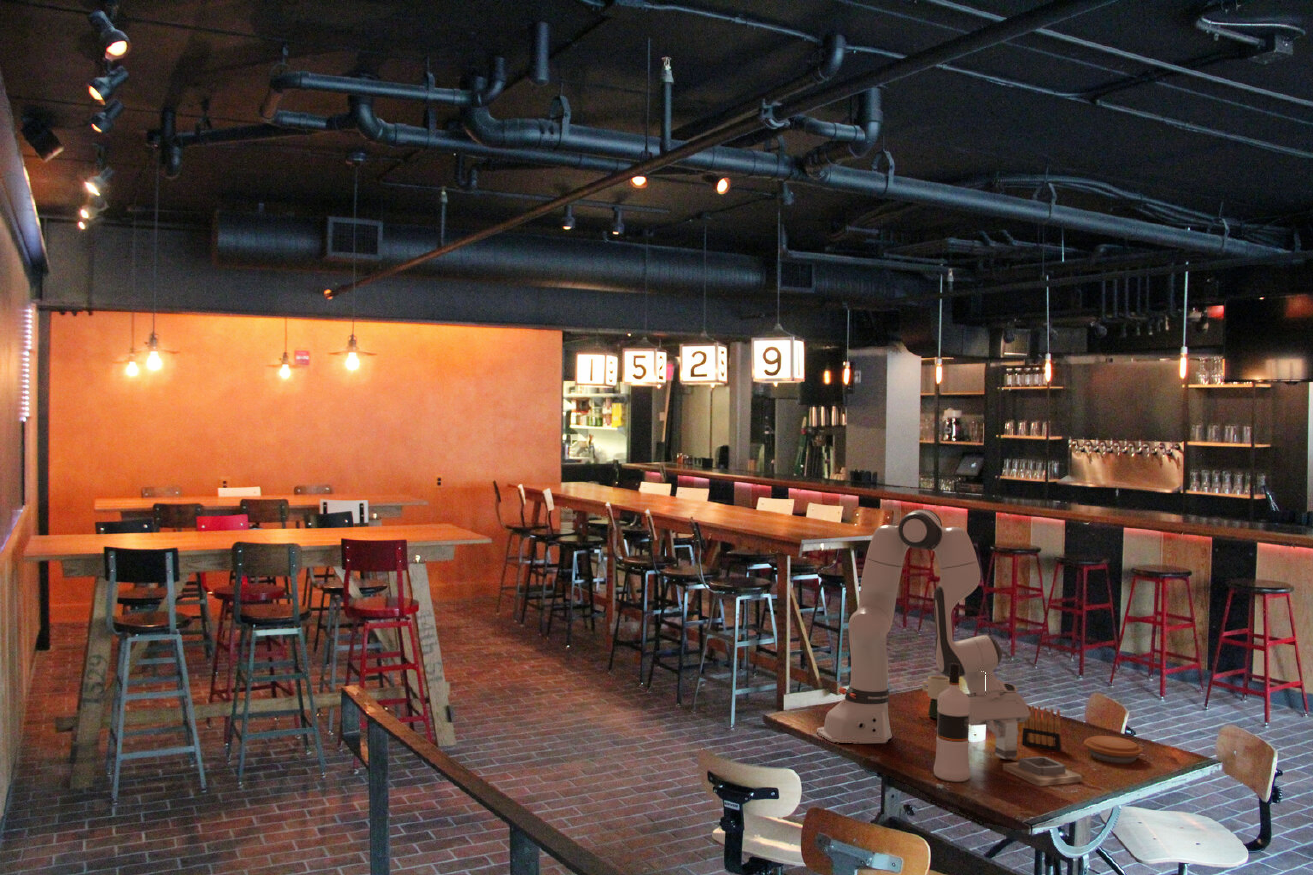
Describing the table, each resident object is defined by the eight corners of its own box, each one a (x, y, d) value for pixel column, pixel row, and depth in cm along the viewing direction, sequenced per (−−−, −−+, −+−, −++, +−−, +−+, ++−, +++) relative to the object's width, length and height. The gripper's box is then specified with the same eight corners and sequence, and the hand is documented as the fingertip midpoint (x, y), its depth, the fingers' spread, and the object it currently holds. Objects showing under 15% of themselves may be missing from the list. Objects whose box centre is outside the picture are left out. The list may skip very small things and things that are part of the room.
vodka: (929, 770, 268) (932, 659, 268) (964, 771, 268) (967, 660, 268) (938, 782, 259) (942, 666, 259) (974, 783, 259) (977, 667, 259)
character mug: (958, 718, 322) (959, 678, 322) (951, 723, 316) (952, 682, 316) (925, 712, 328) (926, 673, 328) (918, 717, 322) (919, 677, 322)
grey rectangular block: (1004, 759, 278) (1005, 723, 278) (994, 754, 282) (996, 719, 282) (1016, 758, 279) (1017, 722, 279) (1006, 753, 283) (1008, 718, 283)
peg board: (1038, 786, 258) (1038, 772, 258) (1002, 769, 271) (1003, 756, 271) (1081, 781, 263) (1081, 768, 263) (1044, 765, 276) (1044, 752, 276)
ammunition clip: (1021, 744, 295) (1022, 704, 295) (1023, 743, 297) (1024, 703, 297) (1060, 751, 289) (1061, 710, 289) (1061, 750, 291) (1062, 709, 291)
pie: (1136, 753, 291) (1137, 735, 291) (1147, 768, 276) (1148, 750, 276) (1079, 747, 295) (1080, 730, 295) (1087, 762, 280) (1088, 744, 280)
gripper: (961, 688, 284) (982, 732, 274) (1020, 685, 290) (1042, 728, 281) (951, 700, 288) (971, 743, 278) (1009, 696, 295) (1031, 739, 285)
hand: (1007, 736), depth 280 cm, fingers closed on grey rectangular block, 4 cm apart
